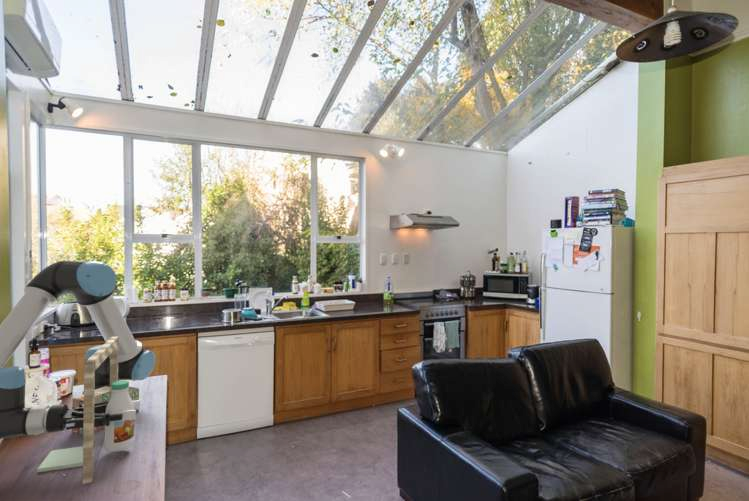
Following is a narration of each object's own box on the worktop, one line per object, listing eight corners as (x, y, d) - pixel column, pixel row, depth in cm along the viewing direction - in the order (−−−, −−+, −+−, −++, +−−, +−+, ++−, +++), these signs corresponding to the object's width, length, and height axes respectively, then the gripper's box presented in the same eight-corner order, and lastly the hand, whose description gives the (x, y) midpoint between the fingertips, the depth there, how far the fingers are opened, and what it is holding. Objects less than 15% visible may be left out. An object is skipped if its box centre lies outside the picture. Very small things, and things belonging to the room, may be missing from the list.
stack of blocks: (126, 409, 161) (127, 378, 161) (139, 412, 159) (139, 380, 159) (71, 432, 141) (71, 397, 141) (84, 436, 139) (85, 399, 139)
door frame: (110, 432, 142) (111, 336, 141) (117, 431, 142) (118, 336, 142) (82, 484, 112) (84, 362, 111) (91, 482, 113) (92, 362, 112)
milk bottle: (102, 454, 123) (103, 387, 123) (106, 443, 130) (107, 379, 130) (131, 449, 126) (133, 384, 126) (135, 438, 134) (136, 377, 133)
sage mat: (51, 453, 127) (51, 450, 127) (93, 448, 131) (93, 444, 131) (37, 472, 117) (37, 469, 117) (83, 465, 121) (83, 462, 121)
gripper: (60, 417, 131) (142, 408, 140) (35, 447, 112) (131, 435, 121) (60, 394, 131) (142, 386, 139) (35, 420, 112) (131, 409, 120)
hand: (137, 409), depth 130 cm, fingers closed on milk bottle, 7 cm apart
